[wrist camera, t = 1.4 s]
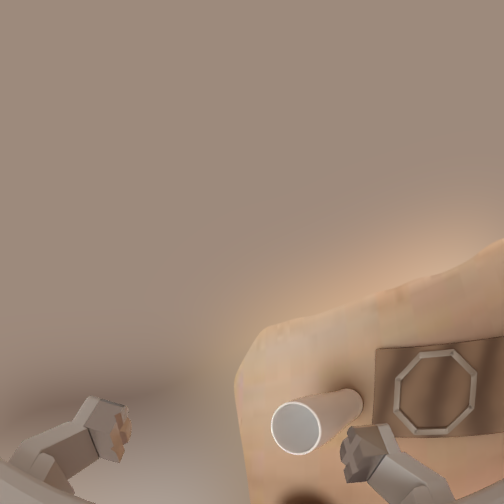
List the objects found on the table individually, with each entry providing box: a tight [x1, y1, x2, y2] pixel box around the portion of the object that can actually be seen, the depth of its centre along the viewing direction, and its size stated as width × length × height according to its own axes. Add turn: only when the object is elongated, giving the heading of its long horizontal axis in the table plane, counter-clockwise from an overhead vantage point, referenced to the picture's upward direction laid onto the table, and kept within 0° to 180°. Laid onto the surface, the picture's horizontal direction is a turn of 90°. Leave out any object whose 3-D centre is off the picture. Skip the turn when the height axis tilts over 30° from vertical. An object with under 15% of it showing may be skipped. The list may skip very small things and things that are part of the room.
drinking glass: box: [271, 389, 363, 455], centre depth 35 cm, size 7×7×15 cm
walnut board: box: [372, 336, 504, 438], centre depth 31 cm, size 20×13×2 cm, turn 88°
